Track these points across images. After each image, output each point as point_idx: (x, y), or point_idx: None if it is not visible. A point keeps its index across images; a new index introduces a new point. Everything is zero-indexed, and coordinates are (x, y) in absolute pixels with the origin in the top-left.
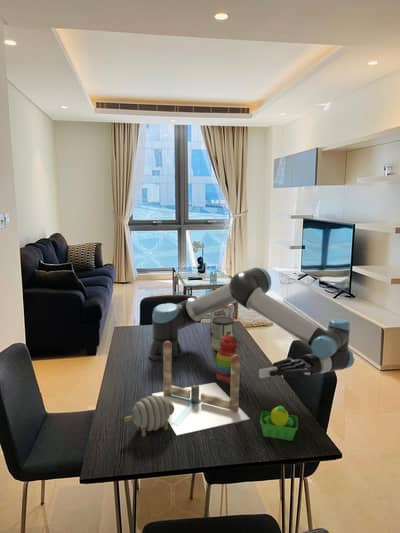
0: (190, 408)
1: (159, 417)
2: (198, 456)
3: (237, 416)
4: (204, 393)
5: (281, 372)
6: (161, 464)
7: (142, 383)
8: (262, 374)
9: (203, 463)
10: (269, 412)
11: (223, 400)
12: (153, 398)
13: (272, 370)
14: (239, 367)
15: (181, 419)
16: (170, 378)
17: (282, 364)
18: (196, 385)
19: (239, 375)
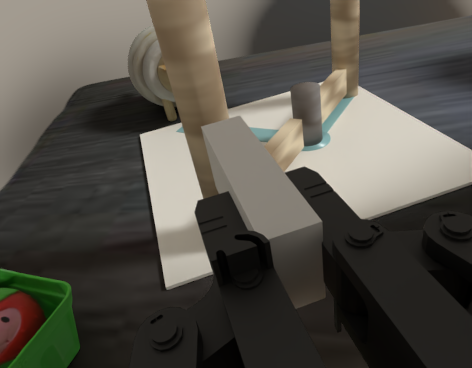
0: (261, 136)
1: (128, 70)
2: (44, 174)
3: (193, 244)
4: (297, 124)
5: (196, 315)
6: (58, 134)
7: (401, 58)
8: (211, 164)
9: (14, 183)
10: (45, 322)
11: None
12: (153, 27)
13: (238, 209)
14: (156, 13)
15: None
16: (338, 41)
17: (469, 350)
18: (316, 88)
19: (174, 70)
